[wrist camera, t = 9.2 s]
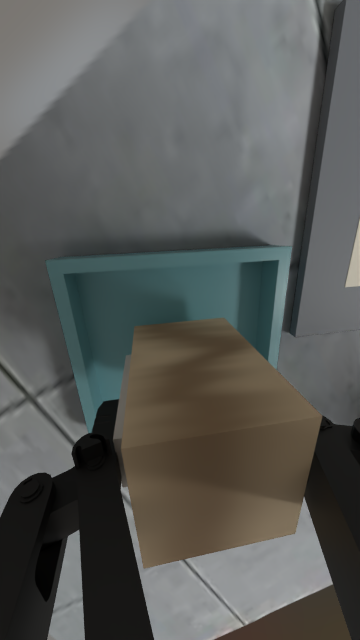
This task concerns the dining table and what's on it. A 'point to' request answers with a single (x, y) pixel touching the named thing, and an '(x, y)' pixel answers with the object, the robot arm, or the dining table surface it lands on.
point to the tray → (162, 304)
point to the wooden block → (211, 442)
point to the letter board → (334, 194)
